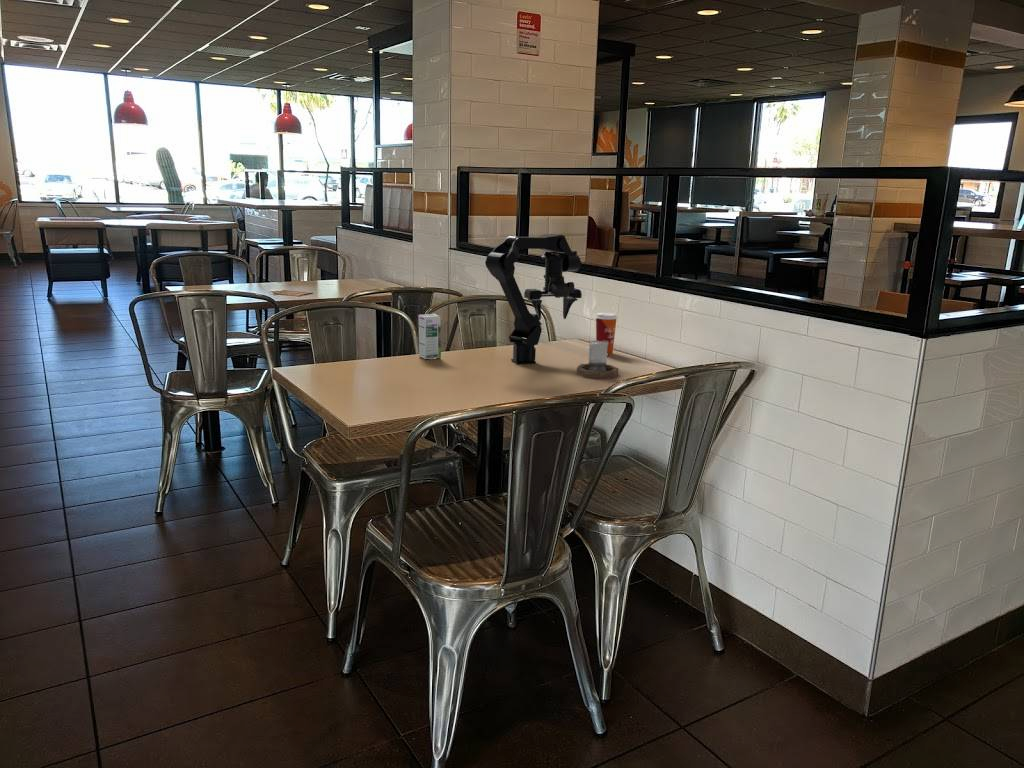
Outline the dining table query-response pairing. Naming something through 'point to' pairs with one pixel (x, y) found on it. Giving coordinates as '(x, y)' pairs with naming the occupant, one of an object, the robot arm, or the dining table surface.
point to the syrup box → (430, 336)
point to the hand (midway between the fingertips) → (552, 319)
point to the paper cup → (606, 329)
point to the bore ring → (609, 372)
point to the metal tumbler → (597, 356)
